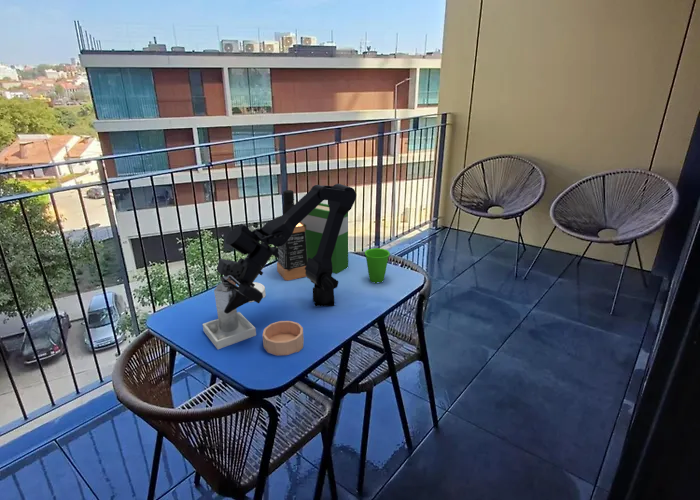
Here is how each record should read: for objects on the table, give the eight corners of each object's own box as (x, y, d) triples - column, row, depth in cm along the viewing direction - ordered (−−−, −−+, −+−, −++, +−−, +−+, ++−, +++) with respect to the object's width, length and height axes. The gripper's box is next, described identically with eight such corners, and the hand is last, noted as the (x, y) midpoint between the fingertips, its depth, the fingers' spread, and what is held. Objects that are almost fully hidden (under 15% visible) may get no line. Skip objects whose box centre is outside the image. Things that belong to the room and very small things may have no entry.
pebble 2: (228, 339, 115) (227, 332, 114) (226, 344, 113) (225, 337, 112) (219, 340, 115) (218, 332, 114) (217, 345, 113) (216, 337, 112)
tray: (240, 320, 126) (239, 311, 124) (256, 337, 117) (255, 327, 116) (203, 332, 119) (202, 323, 118) (217, 351, 111) (216, 341, 110)
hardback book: (302, 263, 166) (299, 205, 157) (314, 257, 172) (312, 201, 163) (336, 273, 156) (335, 213, 148) (348, 267, 162) (347, 208, 153)
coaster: (230, 296, 141) (229, 286, 139) (257, 288, 146) (256, 279, 145) (243, 307, 133) (242, 298, 132) (270, 298, 139) (270, 289, 138)
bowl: (304, 333, 119) (303, 320, 117) (302, 356, 109) (301, 341, 107) (267, 335, 118) (265, 321, 116) (261, 357, 108) (260, 343, 107)
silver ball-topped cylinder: (240, 321, 120) (234, 278, 115) (236, 331, 115) (230, 286, 110) (222, 322, 120) (215, 278, 114) (217, 332, 115) (210, 287, 110)
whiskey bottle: (276, 271, 159) (270, 189, 147) (300, 266, 163) (296, 186, 152) (285, 281, 151) (279, 195, 139) (310, 275, 155) (307, 192, 143)
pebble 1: (219, 329, 120) (218, 322, 119) (217, 334, 118) (216, 326, 117) (211, 329, 120) (209, 322, 119) (208, 334, 117) (207, 327, 117)
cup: (393, 278, 152) (394, 251, 148) (381, 288, 145) (382, 259, 141) (372, 273, 157) (372, 246, 153) (359, 282, 150) (359, 254, 146)
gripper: (220, 238, 118) (187, 284, 116) (247, 259, 104) (210, 310, 102) (248, 257, 125) (218, 300, 123) (277, 278, 111) (243, 327, 109)
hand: (221, 308), depth 114 cm, fingers closed on silver ball-topped cylinder, 5 cm apart
